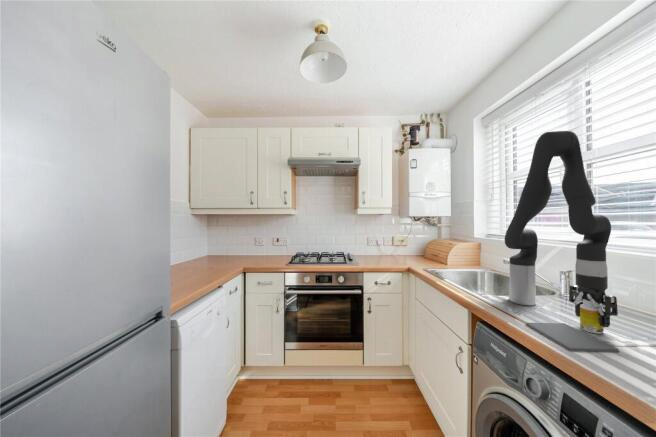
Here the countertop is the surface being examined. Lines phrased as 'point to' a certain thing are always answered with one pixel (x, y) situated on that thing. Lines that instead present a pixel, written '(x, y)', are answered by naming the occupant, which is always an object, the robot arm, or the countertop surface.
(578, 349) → the mat
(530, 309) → the countertop surface
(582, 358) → the countertop surface
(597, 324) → the supplement bottle
